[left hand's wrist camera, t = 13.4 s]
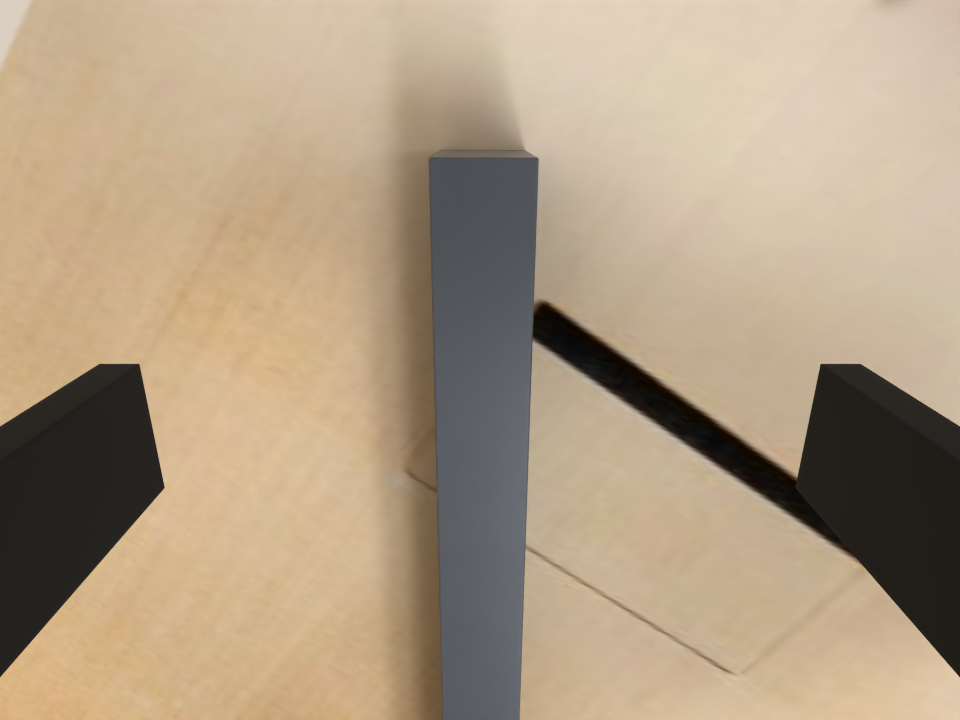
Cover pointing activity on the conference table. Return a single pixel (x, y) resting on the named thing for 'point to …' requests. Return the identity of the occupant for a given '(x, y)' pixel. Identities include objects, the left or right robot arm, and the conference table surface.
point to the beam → (482, 418)
